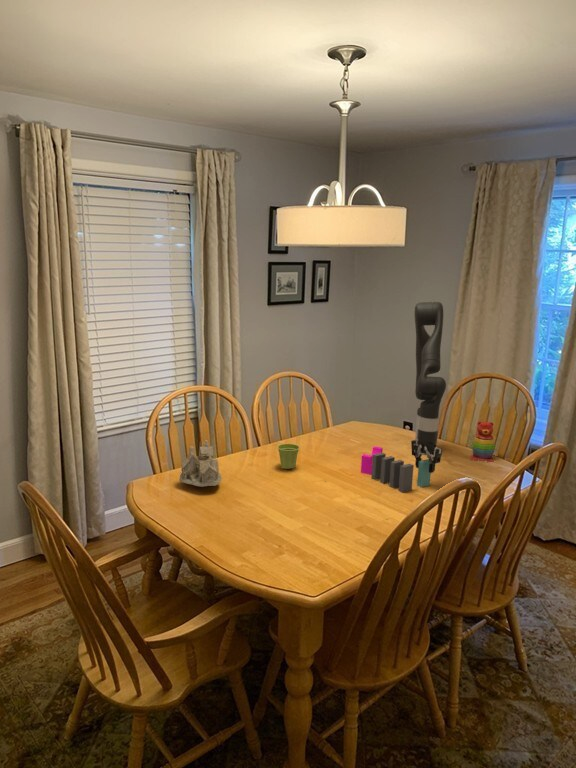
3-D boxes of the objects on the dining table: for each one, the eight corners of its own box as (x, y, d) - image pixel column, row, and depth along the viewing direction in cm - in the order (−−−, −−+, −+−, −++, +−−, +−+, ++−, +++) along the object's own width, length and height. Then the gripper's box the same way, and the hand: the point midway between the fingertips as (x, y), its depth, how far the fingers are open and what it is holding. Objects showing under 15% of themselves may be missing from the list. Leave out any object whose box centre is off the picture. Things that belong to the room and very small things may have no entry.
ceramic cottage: (180, 474, 223) (180, 438, 220) (222, 474, 225) (222, 438, 222) (176, 489, 208) (175, 451, 205) (220, 489, 209) (220, 451, 206)
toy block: (375, 476, 228) (376, 458, 226) (360, 473, 231) (361, 455, 229) (387, 465, 241) (388, 448, 239) (373, 462, 243) (374, 446, 242)
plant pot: (273, 468, 233) (273, 448, 231) (282, 461, 241) (282, 442, 240) (294, 472, 229) (294, 451, 228) (302, 464, 238) (303, 445, 236)
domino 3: (389, 486, 216) (390, 461, 214) (398, 484, 219) (400, 459, 217) (392, 488, 215) (394, 463, 213) (402, 485, 218) (403, 461, 216)
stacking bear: (468, 462, 246) (472, 423, 243) (469, 455, 256) (473, 418, 252) (494, 466, 243) (498, 426, 239) (495, 459, 252) (499, 420, 248)
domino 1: (371, 478, 224) (372, 454, 222) (380, 476, 227) (382, 452, 225) (374, 480, 223) (376, 456, 221) (384, 477, 225) (385, 454, 223)
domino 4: (398, 490, 212) (400, 465, 210) (407, 488, 215) (409, 463, 213) (402, 492, 211) (404, 467, 209) (411, 490, 214) (413, 465, 212)
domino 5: (417, 485, 218) (418, 461, 216) (425, 483, 221) (427, 459, 219) (420, 487, 216) (422, 462, 214) (429, 484, 219) (431, 460, 217)
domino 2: (380, 482, 220) (381, 458, 218) (389, 479, 223) (391, 456, 221) (383, 483, 219) (385, 459, 217) (393, 481, 222) (394, 457, 220)
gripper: (449, 431, 210) (445, 473, 213) (420, 422, 222) (417, 462, 225) (435, 434, 206) (432, 477, 209) (407, 424, 218) (404, 466, 221)
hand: (424, 469), depth 217 cm, fingers open, 6 cm apart
